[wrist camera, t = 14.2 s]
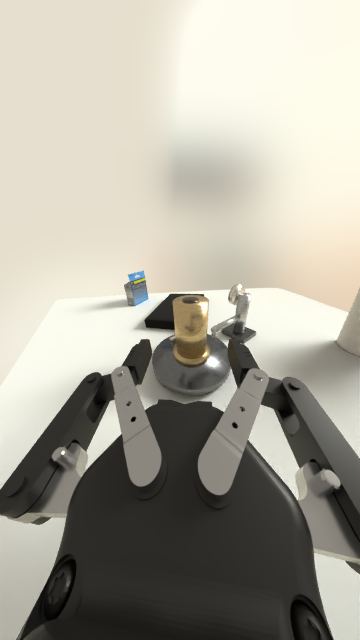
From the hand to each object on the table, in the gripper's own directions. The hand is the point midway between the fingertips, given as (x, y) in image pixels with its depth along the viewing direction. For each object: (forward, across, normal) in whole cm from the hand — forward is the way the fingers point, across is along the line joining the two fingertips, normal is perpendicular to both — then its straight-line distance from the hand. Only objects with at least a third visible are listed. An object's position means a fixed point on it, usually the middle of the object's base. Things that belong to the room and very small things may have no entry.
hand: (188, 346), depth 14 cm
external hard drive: (+32, +4, +11) cm, 34 cm away
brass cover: (+8, 0, +8) cm, 11 cm away
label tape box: (+42, +23, +11) cm, 49 cm away
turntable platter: (+8, 0, +11) cm, 13 cm away
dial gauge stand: (+15, -9, +11) cm, 21 cm away
